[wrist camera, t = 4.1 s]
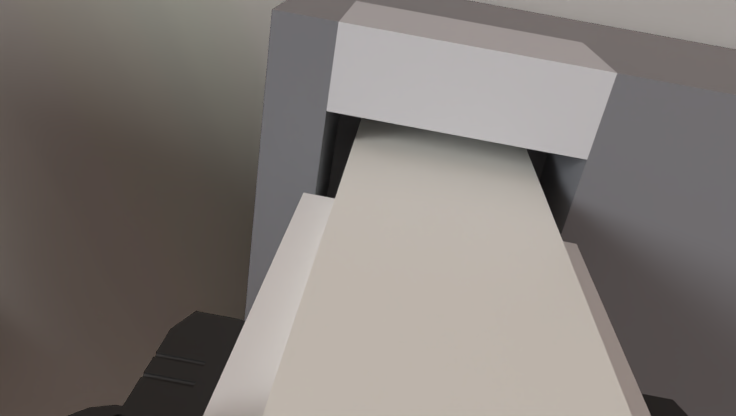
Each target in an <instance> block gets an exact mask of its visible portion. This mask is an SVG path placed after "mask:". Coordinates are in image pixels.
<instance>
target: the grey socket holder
mask: <svg viewBox="0 0 736 416" xmlns="http://www.w3.org/2000/svg"><path fill="white" fill-rule="evenodd" d="M362 118H366V119H372V120H377V121H382V122H388V123H393V124H398V125H404V126H409V127H414V128H420V129H425V130H430V131H436V132H441V133H447V134H452V135H457V136H463V137H468V138H473V139H479V140H484V141H489V142H495V143H500V144H505V145H511V146H516V147H522V148H526V149H527V152H528V155H529V157H530V160H531V162H532V165H533V167H534V170H535V172H536V175H537V177H538V180H539V182H540V185H541V187H542V190H543V192H544V195H545V197H546V200H547V202H548V205H549V208H550V210H551V213H552V215H553V218H554V220H555V223H556V225H557V228H558V230H559V233H560V235H561V238H562V240H563V241H564V242H570V243H575V244H577V246H578V248H579V251H580V253H581V255H582V258H583V260H584V262H585V264H586V267H587V269H588V271H589V274H590V276H591V278H592V281H593V283H594V285H595V288H596V290H597V292H598V294H599V297H600V299H601V301H602V304H603V306H604V308H605V311H606V313H607V315H608V318H609V320H610V322H611V324H612V327H613V329H614V331H615V334H616V336H617V338H618V341H619V343H620V345H621V348H622V350H623V352H624V355H625V357H626V359H627V361H628V364H629V366H630V368H631V371H632V373H633V375H634V378H635V380H636V382H637V385H638V387H639V389H640V391H641V394H646V395H651V396H657V397H662V398H667V399H672V400H674V401H675V402H676V403H677V404H678V405H679V407H680V408H681V409H682V410H683V411H684V412H685V413H686V414H687V415H688V416H736V50H735V49H730V48H724V47H719V46H713V45H708V44H702V43H697V42H692V41H686V40H681V39H675V38H670V37H664V36H659V35H653V34H648V33H643V32H637V31H632V30H626V29H621V28H615V27H610V26H604V25H599V24H594V23H588V22H583V21H577V20H572V19H566V18H561V17H555V16H550V15H544V14H539V13H534V12H528V11H523V10H517V9H512V8H506V7H501V6H495V5H490V4H485V3H479V2H474V1H468V0H286V1H285V2H283V3H282V4H280V5H278V6H277V7H275V8H273V9H272V16H271V27H270V38H269V50H268V61H267V72H266V84H265V95H264V106H263V117H262V129H261V140H260V151H259V162H258V174H257V185H256V196H255V208H254V219H253V230H252V241H251V253H250V264H249V275H248V287H247V298H246V309H245V320H246V319H247V317H248V315H249V312H250V310H251V308H252V306H253V304H254V301H255V299H256V297H257V295H258V292H259V290H260V288H261V286H262V284H263V281H264V279H265V277H266V275H267V272H268V270H269V268H270V266H271V264H272V261H273V259H274V257H275V255H276V252H277V250H278V248H279V246H280V244H281V241H282V239H283V237H284V235H285V232H286V230H287V228H288V226H289V224H290V221H291V219H292V217H293V215H294V212H295V210H296V208H297V206H298V204H299V201H300V199H301V197H302V195H303V193H308V194H313V195H319V196H324V197H329V198H335V197H336V194H337V191H338V188H339V185H340V182H341V179H342V176H343V173H344V170H345V167H346V164H347V161H348V158H349V155H350V152H351V149H352V146H353V143H354V140H355V137H356V134H357V131H358V128H359V125H360V122H361V119H362Z"/></svg>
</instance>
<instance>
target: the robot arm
mask: <svg viewBox="0 0 736 416" xmlns="http://www.w3.org/2000/svg"><path fill="white" fill-rule="evenodd" d="M334 200H335V198H329V197H324V196H319V195H313V194H308V193H303V195H302V197H301V199H300V201H299V204H298V206H297V208H296V210H295V212H294V215H293V217H292V219H291V221H290V224H289V226H288V228H287V230H286V232H285V235H284V237H283V239H282V241H281V244H280V246H279V248H278V250H277V252H276V255H275V257H274V259H273V261H272V264H271V266H270V268H269V270H268V272H267V275H266V277H265V279H264V281H263V284H262V286H261V288H260V290H259V292H258V295H257V297H256V299H255V301H254V304H253V306H252V308H251V310H250V312H249V315H248V317H247V319H246V320H240V319H235V318H230V317H224V316H219V315H214V314H209V313H203V312H198V311H196V312H194V313H193V314H191V315H190V316H188V317H187V318H186V319H184V320H183V321H181V322H180V323H178V324H177V325H176V326H174V327H173V328H171V329H170V331H169V333H168V334H167V336H166V338H165V339H164V341H163V342H162V344H161V346H160V347H159V349H158V350H157V352H156V356H155V357H153V358H152V360H151V362H150V363H149V365H148V367H147V368H146V370H145V371H144V375H143V377H141V378H140V379H139V381H138V383H137V384H136V386H135V388H134V389H133V391H132V392H131V394H130V396H129V397H128V399H127V400H126V402H125V404H124V405H123V406H119V405H111V406H101V407H91V408H87V409H84V410H82V411H79V412H76V413H74V414H71V415H68V416H263V413H264V410H265V407H266V404H267V401H268V398H269V395H270V392H271V389H272V386H273V383H274V380H275V377H276V374H277V371H278V368H279V365H280V362H281V359H282V356H283V353H284V350H285V347H286V344H287V341H288V338H289V335H290V332H291V329H292V326H293V323H294V320H295V317H296V314H297V311H298V308H299V305H300V302H301V299H302V296H303V293H304V290H305V287H306V284H307V281H308V278H309V275H310V272H311V269H312V266H313V263H314V260H315V257H316V254H317V251H318V248H319V245H320V242H321V239H322V236H323V233H324V230H325V227H326V224H327V221H328V218H329V215H330V212H331V209H332V206H333V203H334ZM563 243H564V245H565V248H566V250H567V253H568V255H569V258H570V261H571V263H572V266H573V268H574V271H575V273H576V276H577V278H578V281H579V283H580V286H581V288H582V291H583V293H584V296H585V298H586V301H587V303H588V306H589V308H590V311H591V314H592V316H593V319H594V321H595V324H596V326H597V329H598V331H599V334H600V336H601V339H602V341H603V344H604V346H605V349H606V351H607V354H608V356H609V359H610V361H611V364H612V367H613V369H614V372H615V374H616V377H617V379H618V382H619V384H620V387H621V389H622V392H623V394H624V397H625V399H626V402H627V404H628V407H629V409H630V412H631V414H632V416H688V415H687V414H686V413H685V412H684V411H683V410H682V409H681V408H680V407H679V405H678V404H677V403H676V402H675V401H674V400H672V399H667V398H662V397H657V396H651V395H646V394H641V391H640V389H639V387H638V385H637V382H636V380H635V378H634V375H633V373H632V371H631V368H630V366H629V364H628V361H627V359H626V357H625V355H624V352H623V350H622V348H621V345H620V343H619V341H618V338H617V336H616V334H615V331H614V329H613V327H612V324H611V322H610V320H609V318H608V315H607V313H606V311H605V308H604V306H603V304H602V301H601V299H600V297H599V294H598V292H597V290H596V288H595V285H594V283H593V281H592V278H591V276H590V274H589V271H588V269H587V267H586V264H585V262H584V260H583V258H582V255H581V253H580V251H579V248H578V246H577V244H575V243H570V242H564V241H563Z"/></svg>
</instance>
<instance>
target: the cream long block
mask: <svg viewBox="0 0 736 416" xmlns="http://www.w3.org/2000/svg"><path fill="white" fill-rule="evenodd" d="M263 416H632V414H631V412H630V409H629V407H628V404H627V402H626V399H625V397H624V394H623V392H622V389H621V387H620V384H619V382H618V379H617V377H616V374H615V372H614V369H613V367H612V364H611V361H610V359H609V356H608V354H607V351H606V349H605V346H604V344H603V341H602V339H601V336H600V334H599V331H598V329H597V326H596V324H595V321H594V319H593V316H592V314H591V311H590V308H589V306H588V303H587V301H586V298H585V296H584V293H583V291H582V288H581V286H580V283H579V281H578V278H577V276H576V273H575V271H574V268H573V266H572V263H571V261H570V258H569V255H568V253H567V250H566V248H565V245H564V243H563V240H562V238H561V235H560V233H559V230H558V228H557V225H556V223H555V220H554V218H553V215H552V213H551V210H550V208H549V205H548V202H547V200H546V197H545V195H544V192H543V190H542V187H541V185H540V182H539V180H538V177H537V175H536V172H535V170H534V167H533V165H532V162H531V160H530V157H529V155H528V152H527V149H526V148H522V147H516V146H511V145H505V144H500V143H495V142H489V141H484V140H479V139H473V138H468V137H463V136H457V135H452V134H447V133H441V132H436V131H430V130H425V129H420V128H414V127H409V126H404V125H398V124H393V123H388V122H382V121H377V120H372V119H366V118H362V119H361V122H360V125H359V128H358V131H357V134H356V137H355V140H354V143H353V146H352V149H351V152H350V155H349V158H348V161H347V164H346V167H345V170H344V173H343V176H342V179H341V182H340V185H339V188H338V191H337V194H336V197H335V200H334V203H333V206H332V209H331V212H330V215H329V218H328V221H327V224H326V227H325V230H324V233H323V236H322V239H321V242H320V245H319V248H318V251H317V254H316V257H315V260H314V263H313V266H312V269H311V272H310V275H309V278H308V281H307V284H306V287H305V290H304V293H303V296H302V299H301V302H300V305H299V308H298V311H297V314H296V317H295V320H294V323H293V326H292V329H291V332H290V335H289V338H288V341H287V344H286V347H285V350H284V353H283V356H282V359H281V362H280V365H279V368H278V371H277V374H276V377H275V380H274V383H273V386H272V389H271V392H270V395H269V398H268V401H267V404H266V407H265V410H264V413H263Z"/></svg>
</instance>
